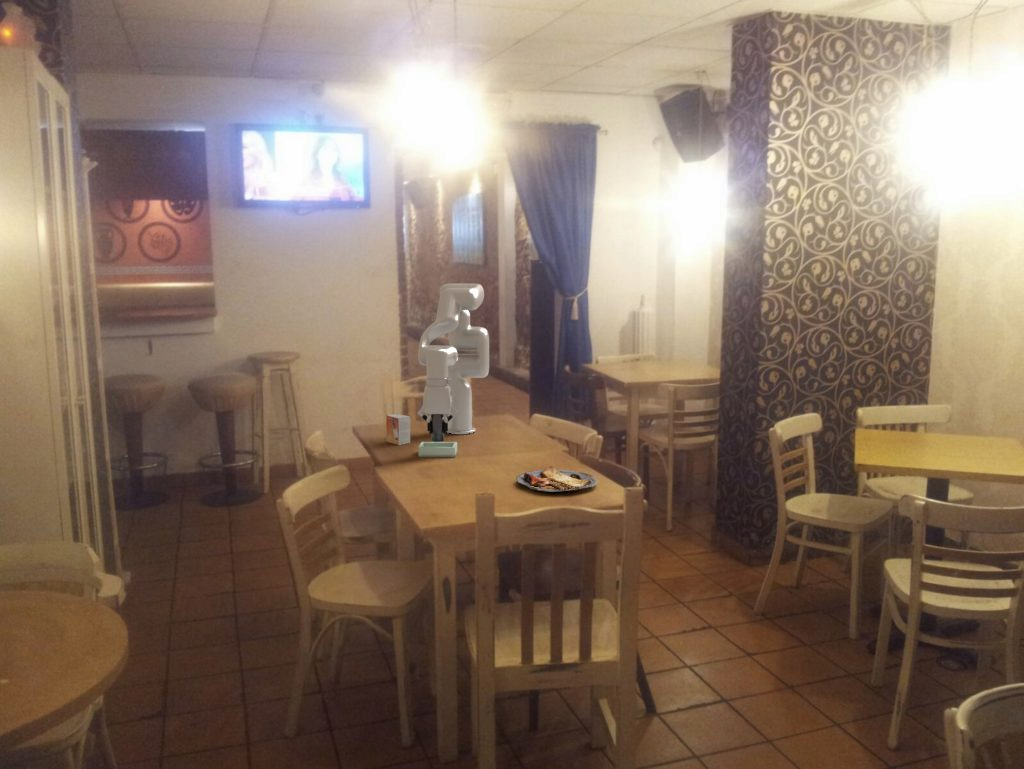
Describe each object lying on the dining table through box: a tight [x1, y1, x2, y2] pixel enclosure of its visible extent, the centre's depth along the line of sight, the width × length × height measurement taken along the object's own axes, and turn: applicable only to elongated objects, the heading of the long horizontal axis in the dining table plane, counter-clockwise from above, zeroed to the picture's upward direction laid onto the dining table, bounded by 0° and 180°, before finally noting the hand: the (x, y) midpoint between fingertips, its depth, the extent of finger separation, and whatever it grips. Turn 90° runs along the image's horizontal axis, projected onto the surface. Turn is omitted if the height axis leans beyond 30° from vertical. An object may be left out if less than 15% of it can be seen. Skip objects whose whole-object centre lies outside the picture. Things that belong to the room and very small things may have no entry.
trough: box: [418, 441, 458, 458], centre depth 317 cm, size 9×13×4 cm
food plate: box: [515, 465, 598, 493], centre depth 276 cm, size 25×23×4 cm
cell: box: [430, 414, 445, 442], centre depth 315 cm, size 4×4×11 cm
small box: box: [385, 413, 411, 446], centre depth 335 cm, size 8×6×10 cm
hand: (437, 432), depth 316 cm, fingers closed on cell, 4 cm apart
